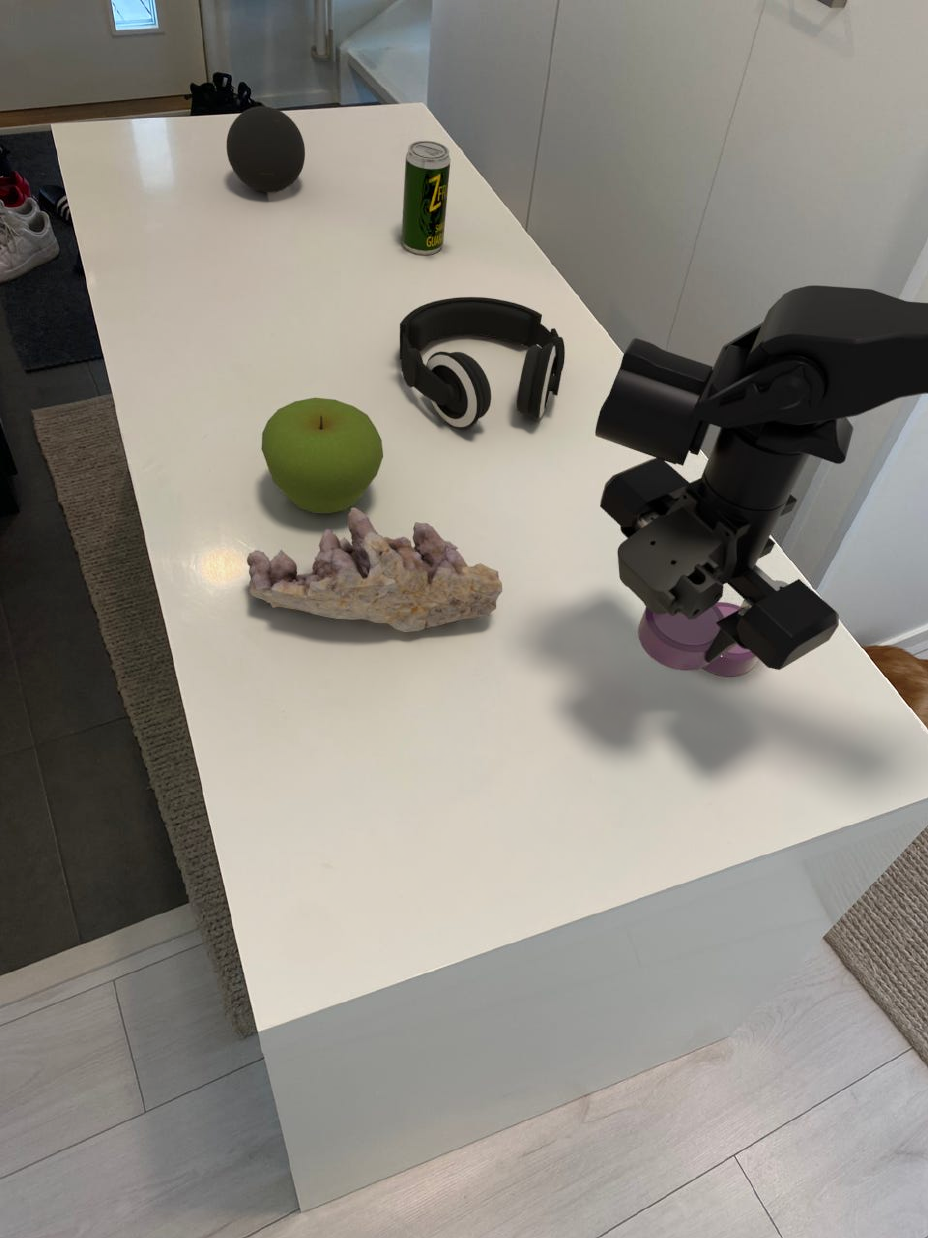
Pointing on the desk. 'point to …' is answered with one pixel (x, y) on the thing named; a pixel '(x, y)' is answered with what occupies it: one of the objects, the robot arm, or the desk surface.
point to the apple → (322, 453)
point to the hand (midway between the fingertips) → (680, 629)
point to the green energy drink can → (425, 197)
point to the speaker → (265, 149)
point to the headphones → (458, 376)
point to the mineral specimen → (379, 579)
